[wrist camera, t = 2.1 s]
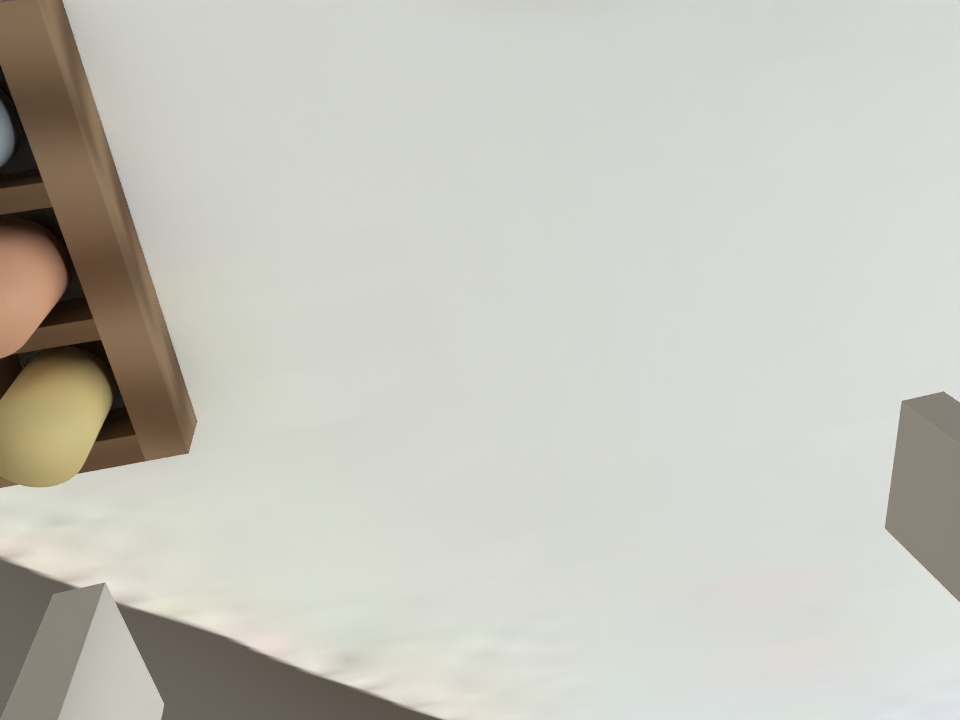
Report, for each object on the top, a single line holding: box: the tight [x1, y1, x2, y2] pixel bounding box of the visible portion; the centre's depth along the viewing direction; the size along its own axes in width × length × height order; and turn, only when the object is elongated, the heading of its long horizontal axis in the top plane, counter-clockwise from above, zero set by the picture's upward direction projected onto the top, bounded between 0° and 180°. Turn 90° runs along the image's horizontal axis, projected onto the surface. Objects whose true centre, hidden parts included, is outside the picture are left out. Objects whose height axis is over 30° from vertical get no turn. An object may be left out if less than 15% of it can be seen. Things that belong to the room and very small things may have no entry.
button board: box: [0, 0, 197, 488], centre depth 34 cm, size 20×9×3 cm, turn 6°
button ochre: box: [0, 346, 116, 487], centre depth 34 cm, size 4×4×5 cm
